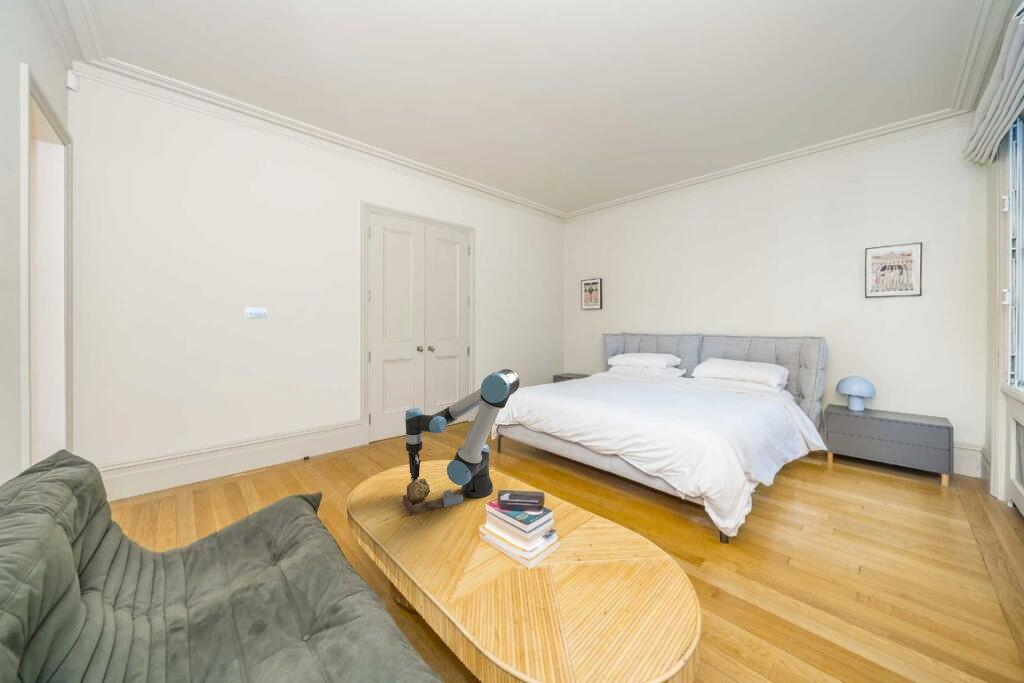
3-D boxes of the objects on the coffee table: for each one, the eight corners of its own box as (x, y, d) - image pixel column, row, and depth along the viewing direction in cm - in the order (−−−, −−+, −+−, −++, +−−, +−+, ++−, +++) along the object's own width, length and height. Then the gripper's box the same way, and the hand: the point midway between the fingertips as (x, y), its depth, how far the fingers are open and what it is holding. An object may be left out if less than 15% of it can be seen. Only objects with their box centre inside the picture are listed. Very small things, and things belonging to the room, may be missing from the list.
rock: (405, 496, 183) (405, 475, 182) (427, 492, 188) (427, 472, 186) (409, 509, 173) (409, 487, 171) (432, 505, 177) (432, 484, 175)
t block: (455, 494, 186) (455, 488, 186) (463, 502, 178) (463, 496, 178) (437, 499, 182) (437, 492, 181) (444, 507, 174) (444, 501, 174)
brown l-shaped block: (434, 495, 185) (434, 488, 185) (443, 506, 175) (443, 499, 174) (402, 503, 178) (402, 495, 178) (410, 515, 167) (409, 507, 167)
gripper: (402, 438, 189) (403, 485, 191) (409, 447, 177) (410, 497, 179) (418, 436, 192) (418, 482, 194) (425, 444, 181) (426, 493, 183)
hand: (414, 489), depth 187 cm, fingers closed
